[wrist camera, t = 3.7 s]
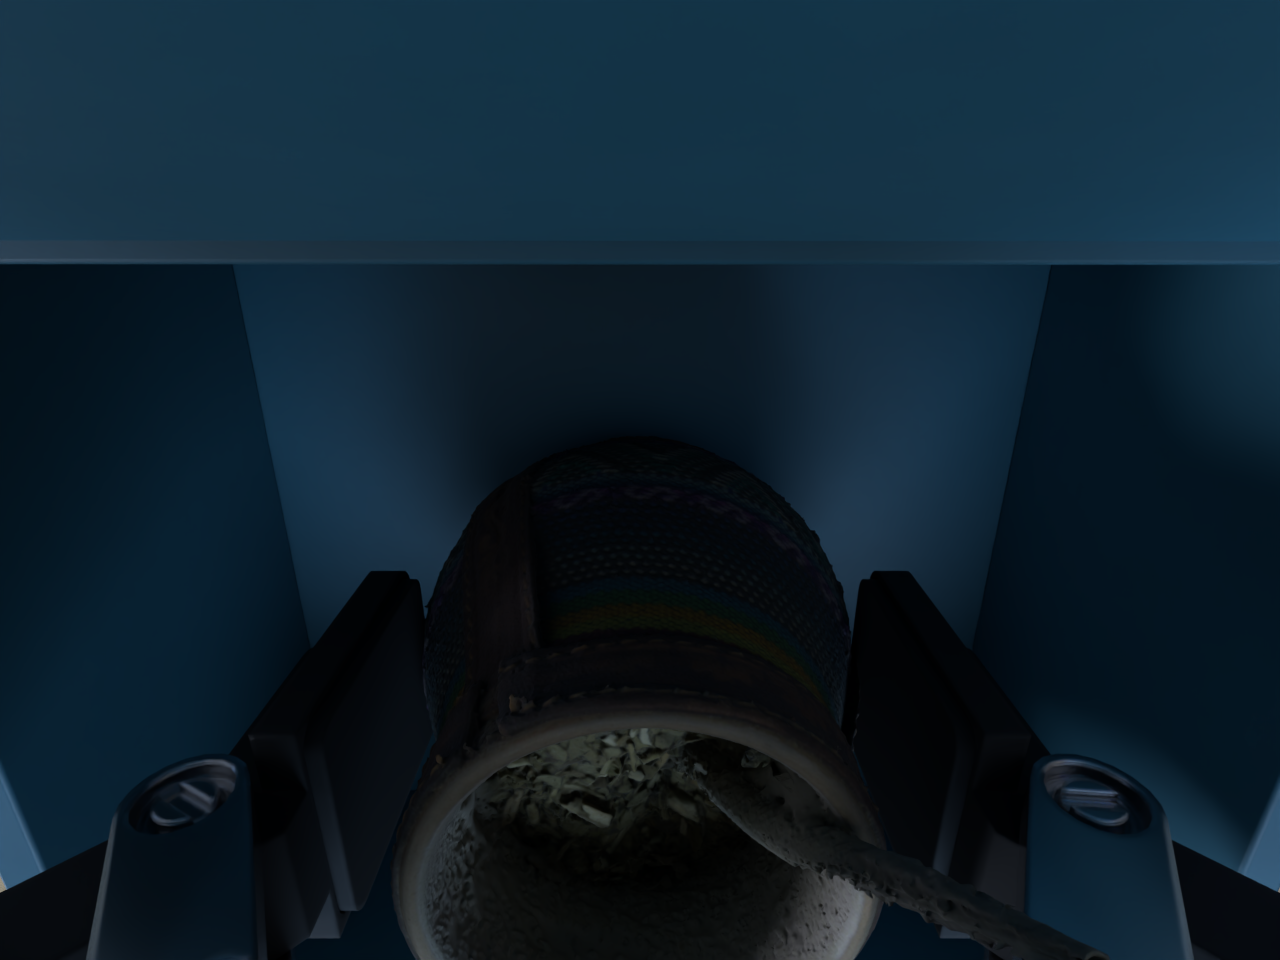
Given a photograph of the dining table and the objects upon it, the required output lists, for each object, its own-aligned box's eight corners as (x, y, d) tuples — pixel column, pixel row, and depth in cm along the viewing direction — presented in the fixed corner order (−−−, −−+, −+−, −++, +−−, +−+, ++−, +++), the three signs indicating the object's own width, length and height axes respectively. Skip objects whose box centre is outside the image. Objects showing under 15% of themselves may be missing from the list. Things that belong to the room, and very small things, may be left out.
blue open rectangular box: (952, 789, 18) (1154, 1163, 11) (329, 788, 18) (129, 1162, 11) (1077, 200, 13) (1610, 190, 6) (206, 200, 13) (-320, 189, 6)
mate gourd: (396, 544, 15) (-16, 1114, 5) (670, 309, 13) (750, 560, 4) (618, 748, 17) (593, 1419, 7) (883, 568, 15) (1281, 1155, 6)
